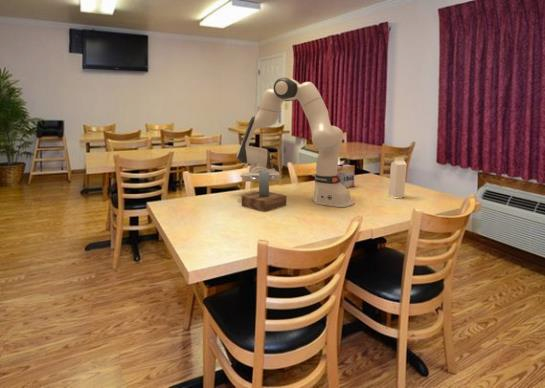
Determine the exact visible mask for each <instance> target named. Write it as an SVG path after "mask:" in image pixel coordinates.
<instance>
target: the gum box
mask: <svg viewBox="0 0 545 388" xmlns="http://www.w3.org/2000/svg"><path fill="white" fill-rule="evenodd" d="M355 166H356V165H355V164H354V165H350V164H348V163H344V164H343V163H341V164H338V169H337V175H338V176H339V177H342V178H341V179H340V183H341V184H342V185H343V186H344V187H350V186H354V187H355V173H356V172H355V169H356V168H355ZM350 188H351V187H350Z"/></svg>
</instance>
